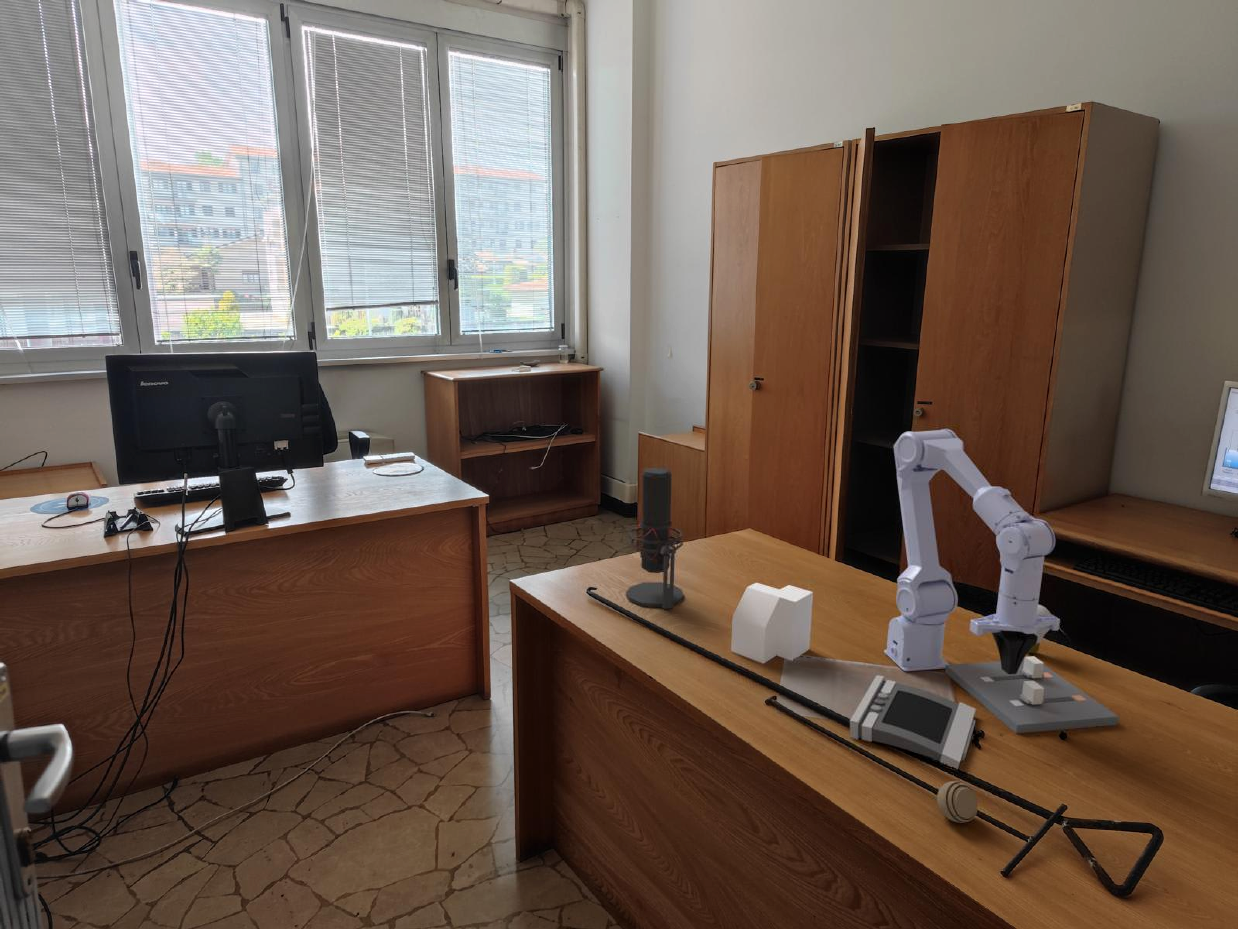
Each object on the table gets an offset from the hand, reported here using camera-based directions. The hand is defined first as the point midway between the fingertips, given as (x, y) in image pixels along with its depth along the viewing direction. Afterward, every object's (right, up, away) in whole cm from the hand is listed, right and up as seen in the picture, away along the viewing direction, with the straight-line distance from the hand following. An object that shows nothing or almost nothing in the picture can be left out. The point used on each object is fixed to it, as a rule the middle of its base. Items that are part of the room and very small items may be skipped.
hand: (1008, 671), depth 123 cm
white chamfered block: (-35, -3, +23) cm, 42 cm away
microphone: (-56, +3, +49) cm, 74 cm away
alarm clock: (-17, -9, -3) cm, 19 cm away
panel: (+6, -6, +7) cm, 11 cm away
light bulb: (+16, -3, +23) cm, 28 cm away
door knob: (-19, -13, -24) cm, 33 cm away
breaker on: (+10, -3, +11) cm, 15 cm away
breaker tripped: (+5, -5, +2) cm, 7 cm away
